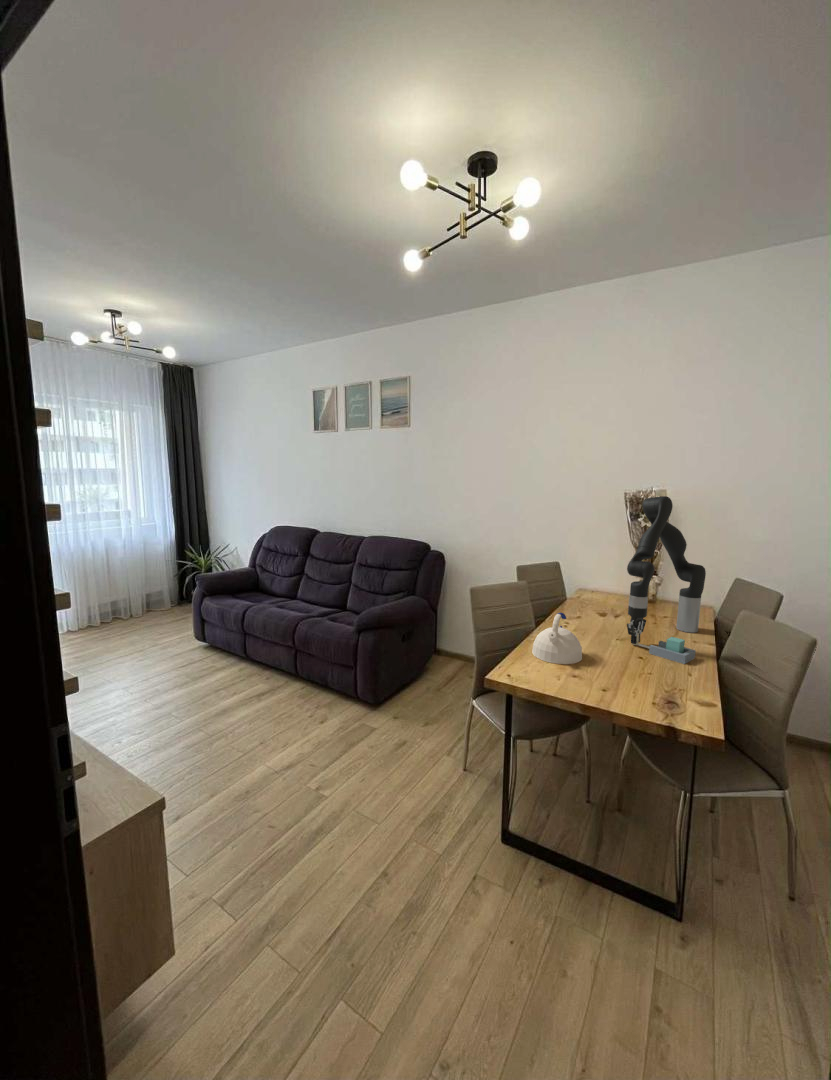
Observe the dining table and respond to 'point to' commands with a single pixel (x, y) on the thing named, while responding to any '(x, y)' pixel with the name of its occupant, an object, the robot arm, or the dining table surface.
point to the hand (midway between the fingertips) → (635, 642)
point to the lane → (672, 653)
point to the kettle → (557, 644)
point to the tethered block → (669, 644)
